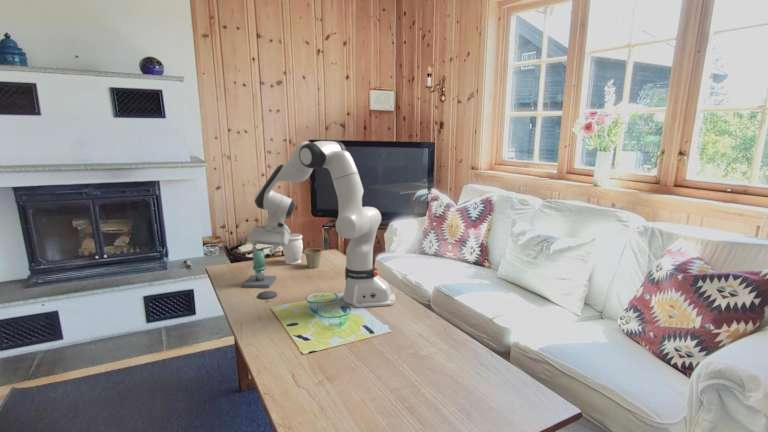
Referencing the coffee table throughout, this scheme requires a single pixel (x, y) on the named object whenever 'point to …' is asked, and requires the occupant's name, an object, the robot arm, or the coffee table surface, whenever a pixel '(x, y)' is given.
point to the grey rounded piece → (259, 275)
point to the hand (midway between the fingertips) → (262, 251)
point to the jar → (293, 249)
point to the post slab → (259, 282)
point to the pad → (267, 295)
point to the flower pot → (313, 257)
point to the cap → (258, 261)
